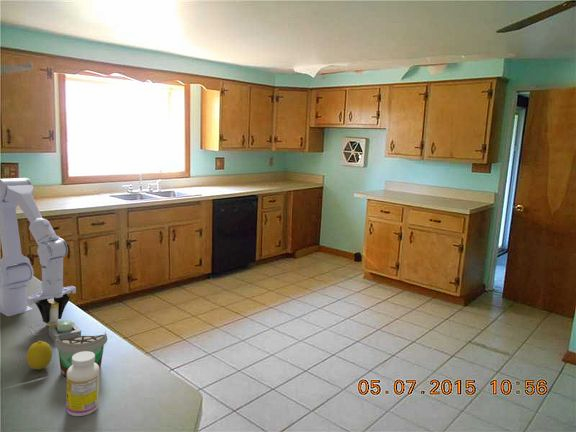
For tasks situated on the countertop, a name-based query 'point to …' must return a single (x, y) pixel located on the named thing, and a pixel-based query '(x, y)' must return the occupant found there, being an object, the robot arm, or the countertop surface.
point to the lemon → (39, 355)
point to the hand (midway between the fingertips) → (52, 320)
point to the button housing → (66, 335)
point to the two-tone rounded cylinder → (53, 314)
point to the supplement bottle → (82, 384)
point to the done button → (64, 326)
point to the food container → (79, 349)
